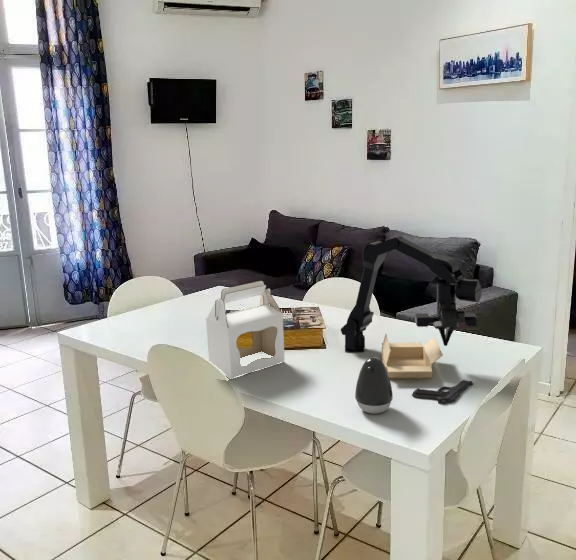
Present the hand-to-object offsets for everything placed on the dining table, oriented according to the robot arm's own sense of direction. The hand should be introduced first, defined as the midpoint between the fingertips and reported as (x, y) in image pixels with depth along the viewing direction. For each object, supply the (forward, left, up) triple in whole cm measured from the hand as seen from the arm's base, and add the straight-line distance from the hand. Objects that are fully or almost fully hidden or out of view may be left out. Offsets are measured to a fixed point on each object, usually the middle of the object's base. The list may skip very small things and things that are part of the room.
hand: (445, 345), depth 196 cm
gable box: (-65, +3, -8) cm, 65 cm away
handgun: (-4, -18, -8) cm, 20 cm away
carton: (-13, 0, -8) cm, 15 cm away
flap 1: (-19, 0, -3) cm, 20 cm away
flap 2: (-6, 0, -3) cm, 7 cm away
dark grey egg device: (-25, -31, -8) cm, 40 cm away
